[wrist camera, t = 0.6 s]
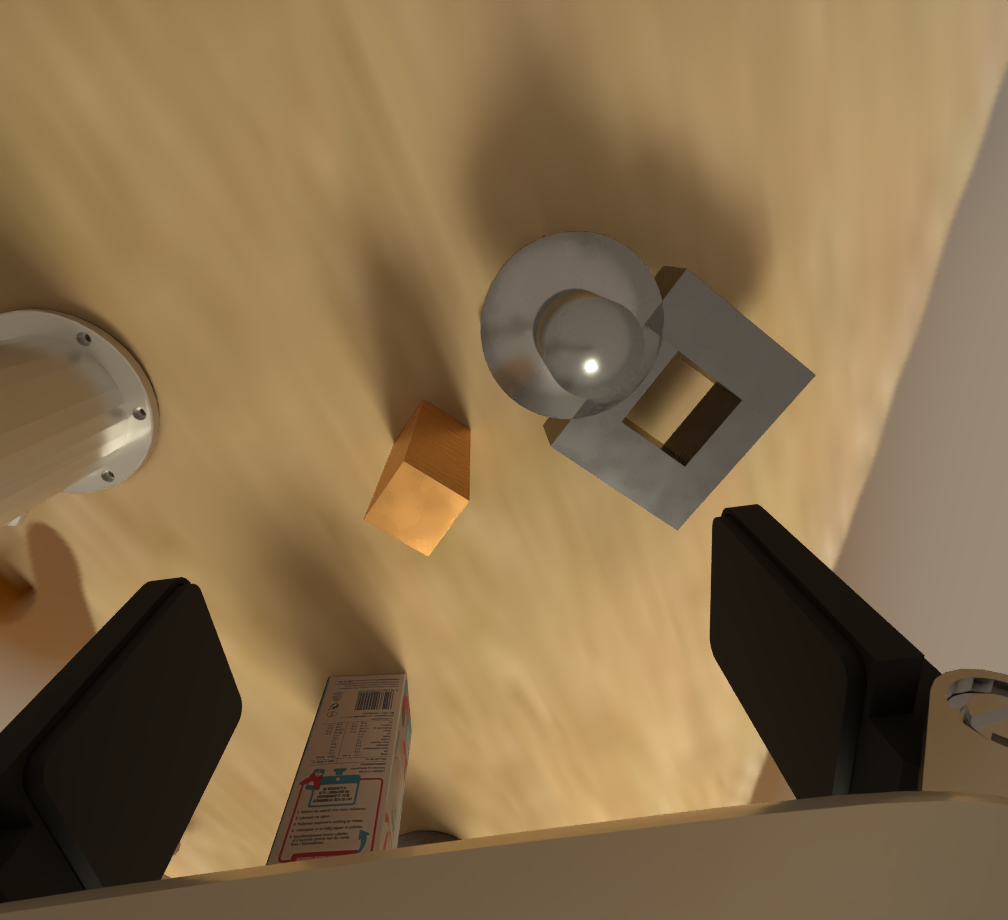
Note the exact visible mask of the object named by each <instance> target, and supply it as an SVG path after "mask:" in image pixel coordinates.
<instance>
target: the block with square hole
mask: <svg viewBox="0 0 1008 920" xmlns="http://www.w3.org/2000/svg"><path fill="white" fill-rule="evenodd" d="M481 341H482V348H483V352H484V356H485V360H486V362H487V365H488V367H489V370H490V371H491V373H492V375H493V377H494V379H495V380H496V382H497V383H498V384H499V386H500V387H501V388H502V390H503V391H504V392H505V393H506V394H507V395H508V396H509V397H510V398H512V399H513V400H514V401H515V402H517V403H518V404H519V405H521V406H523V407H524V408H526V409H528V410H530V411H532V412H535V413H537V414H539V415H543V416H547V417H549V418H548V419H547V421H546V422H545V423H544V425H543V427H544V430H545V432H546V435H547V438H548V440H549V443H550V445H551V447H553V448H554V449H556V450H557V451H559V452H560V453H562V454H563V455H565V456H566V457H568V458H569V459H571V460H572V461H574V462H575V463H577V464H578V465H580V466H581V467H583V468H584V469H586V470H587V471H589V472H590V473H592V474H593V475H595V476H596V477H598V478H599V479H601V480H602V481H604V482H605V483H607V484H608V485H610V486H611V487H613V488H614V489H616V490H617V491H619V492H620V493H622V494H623V495H625V496H626V497H628V498H629V499H631V500H632V501H634V502H635V503H637V504H638V505H640V506H641V507H643V508H644V509H646V510H647V511H649V512H650V513H652V514H653V515H655V516H656V517H658V518H659V519H661V520H662V521H664V522H666V523H667V524H669V525H670V526H672V527H673V528H675V529H676V530H678V529H679V528H680V527H681V526H682V525H683V523H684V522H685V521H686V520H687V519H688V518H689V517H690V516H691V515H692V513H693V512H694V511H695V510H696V509H697V508H698V507H699V506H700V504H701V503H702V502H703V501H704V500H705V499H706V498H707V497H708V495H709V494H710V493H711V492H712V491H713V490H714V489H715V488H716V486H717V485H718V484H719V483H720V482H721V481H722V480H723V479H724V478H725V476H726V475H727V474H728V473H729V472H730V471H731V470H732V469H733V467H734V466H735V465H736V464H737V463H738V462H739V461H740V460H741V458H742V457H743V456H744V455H745V454H746V453H747V452H748V451H749V449H750V448H751V447H752V446H753V445H754V444H755V443H756V442H757V441H758V439H759V438H760V437H761V436H762V435H763V434H764V433H765V432H766V430H767V429H768V428H769V427H770V426H771V425H772V424H773V423H774V421H775V420H776V419H777V418H778V417H779V416H780V415H781V414H782V412H783V411H784V410H785V409H786V408H787V407H788V406H789V405H790V404H791V402H792V401H793V400H794V399H795V398H796V397H797V396H798V395H799V393H800V392H801V391H802V390H803V389H804V388H805V387H806V386H807V384H808V383H809V382H810V381H811V380H812V379H813V378H814V377H815V374H814V373H813V372H811V371H810V370H809V369H808V368H807V367H805V366H804V365H803V364H802V363H801V362H799V361H798V360H797V359H796V358H795V357H793V356H792V355H791V354H790V353H788V352H787V351H786V350H785V349H784V348H782V347H781V346H780V345H779V344H778V343H776V342H775V341H774V340H773V339H772V338H770V337H769V336H768V335H767V334H765V333H764V332H763V331H762V330H761V329H759V328H758V327H757V326H756V325H755V324H753V323H752V322H751V321H750V320H749V319H747V318H746V317H745V316H744V315H742V314H741V313H740V312H739V311H738V310H736V309H735V308H734V307H733V306H732V305H730V304H729V303H728V302H727V301H726V300H724V299H723V298H722V297H721V296H719V295H718V294H717V293H716V292H715V291H713V290H712V289H711V288H710V287H709V286H707V285H706V284H705V283H704V282H703V281H701V280H700V279H699V278H698V277H696V276H695V275H694V274H693V273H692V272H690V271H689V270H688V269H685V268H676V267H668V266H663V267H662V268H661V269H660V271H659V272H658V273H657V275H656V276H655V277H653V275H652V274H651V272H650V270H649V268H648V267H647V266H646V265H645V263H644V262H643V261H642V260H641V258H639V257H638V256H637V255H636V254H635V253H634V252H633V251H632V250H631V249H629V248H628V247H626V246H625V245H623V244H622V243H620V242H618V241H616V240H614V239H612V238H610V237H607V236H604V235H601V234H597V233H591V232H583V231H571V232H562V233H556V234H552V235H548V236H542V238H540V239H538V240H535V241H533V242H532V243H530V244H528V245H526V246H525V247H523V248H522V249H520V250H519V251H518V252H517V253H515V254H514V255H513V256H512V257H511V258H510V259H509V260H508V261H507V262H506V263H505V264H504V265H503V267H502V268H501V269H500V270H499V272H498V273H497V274H496V276H495V278H494V280H493V281H492V283H491V285H490V287H489V290H488V292H487V295H486V297H485V301H484V305H483V308H482V315H481ZM675 354H676V355H678V356H679V357H680V358H681V359H683V360H684V361H685V362H687V363H688V364H689V365H691V366H692V367H693V368H694V369H696V370H697V371H698V372H700V373H701V374H702V375H704V376H705V377H706V378H707V379H709V380H710V381H711V382H713V383H714V385H713V386H712V388H711V389H710V390H709V391H708V392H707V394H706V395H705V396H704V397H703V398H702V400H701V401H700V402H699V403H698V404H697V406H696V407H695V408H694V409H693V410H692V412H691V413H690V414H689V415H688V416H687V418H686V419H685V420H684V421H683V422H682V423H681V425H680V426H679V427H678V428H677V429H676V431H675V432H674V433H673V434H672V435H671V437H670V438H669V439H668V440H667V441H666V443H665V444H662V443H661V442H660V441H658V440H657V439H655V438H654V437H652V436H651V435H650V434H648V433H647V432H645V431H644V430H643V429H641V428H640V427H638V426H637V425H636V424H634V423H633V422H631V421H630V420H629V419H627V418H626V415H627V414H628V413H629V412H630V410H631V409H632V408H633V407H634V405H635V404H636V403H637V402H638V400H639V399H640V398H641V397H642V395H643V394H644V393H645V392H646V390H647V389H648V388H649V387H650V385H651V384H652V383H653V382H654V380H655V379H656V378H657V377H658V375H659V374H660V373H661V372H662V370H663V369H664V368H665V367H666V365H667V364H668V363H669V362H670V360H671V359H672V358H673V357H674V355H675Z"/></svg>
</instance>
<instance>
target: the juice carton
mask: <svg viewBox="0 0 1008 920" xmlns="http://www.w3.org/2000/svg"><path fill="white" fill-rule="evenodd" d="M411 733H412V731H411V720H410V708H409V696H408V685H407V674H385V675H361V676H336V677H329V678H328V680H327V683H326V686H325V689H324V692H323V695H322V698H321V701H320V704H319V707H318V710H317V713H316V716H315V719H314V722H313V725H312V728H311V731H310V734H309V737H308V740H307V743H306V746H305V749H304V752H303V755H302V758H301V761H300V764H299V767H298V770H297V773H296V776H295V779H294V782H293V785H292V788H291V791H290V794H289V797H288V800H287V803H286V806H285V809H284V812H283V815H282V818H281V821H280V824H279V827H278V830H277V833H276V836H275V839H274V842H273V845H272V848H271V851H270V854H269V857H268V860H267V863H266V865H273V864H280V863H288V862H295V861H303V860H311V859H318V858H326V857H333V856H341V855H349V854H356V853H364V852H372V851H379V850H387V849H395V848H397V844H398V836H399V828H400V820H401V812H402V804H403V796H404V788H405V780H406V772H407V764H408V757H409V749H410V741H411Z"/></svg>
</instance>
